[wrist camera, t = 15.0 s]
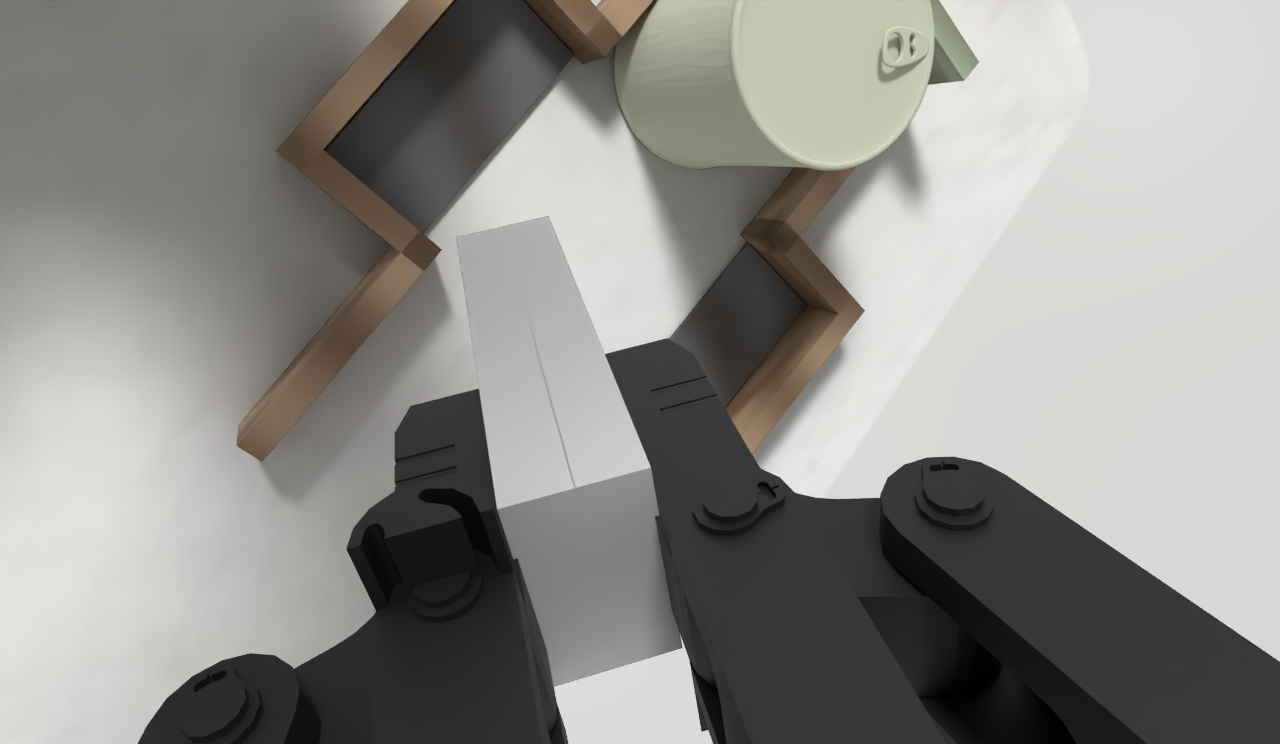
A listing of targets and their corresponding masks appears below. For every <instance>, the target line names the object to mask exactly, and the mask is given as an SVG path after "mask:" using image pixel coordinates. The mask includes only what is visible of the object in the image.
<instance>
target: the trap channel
mask: <svg viewBox="0 0 1280 744" xmlns="http://www.w3.org/2000/svg"><path fill="white" fill-rule="evenodd" d="M652 1H653V0H601V2H600V3H599V4H598V5H597V6H595V5H594V4H593V3H592V2H591V1H590V0H457V1H456V2H455V3H454V4H453V5H452V7H451V8H450V9H449V10H448V11H447V12H446V13H445V15H444V16H443V17H442V18H441V19H440V20H439V21H438V23H437V24H436V25H435V26H434V27H433V28H432V29H431V31H430V32H429V33H428V34H427V35H426V36H425V37H424V39H423V40H422V41H421V42H420V43H419V44H418V45H417V47H416V48H415V49H414V50H413V51H412V52H411V54H410V55H409V56H408V57H407V58H406V59H405V60H404V62H403V63H402V64H401V65H400V66H399V67H398V68H397V70H396V71H395V72H394V73H393V74H392V75H391V76H390V78H389V79H388V80H387V81H386V82H385V83H384V84H383V86H382V87H381V88H380V89H379V90H378V91H377V92H376V94H375V95H374V96H373V97H372V98H371V99H370V100H369V102H368V103H367V104H366V105H365V106H364V107H363V108H362V110H361V111H360V112H359V113H358V114H357V115H356V116H355V118H354V119H353V120H352V121H351V122H350V123H349V125H348V126H347V127H346V128H345V129H344V130H343V131H342V133H341V134H340V135H339V136H338V137H337V138H336V139H335V141H334V142H333V143H332V144H331V145H330V146H329V147H328V149H327V150H326V151H324V150H323V149H324V148H325V147H326V146H327V145H328V143H329V142H330V141H331V140H332V139H333V138H334V137H335V135H336V134H337V133H338V132H339V131H340V130H341V129H342V127H343V126H344V125H345V124H346V123H347V122H348V121H349V119H350V118H351V117H352V116H353V115H354V114H355V113H356V111H357V110H358V109H359V108H360V107H361V106H362V105H363V103H364V102H365V101H366V100H367V99H368V98H369V97H370V95H371V94H372V93H373V92H374V91H375V90H376V89H377V87H378V86H379V85H380V84H381V83H382V82H383V80H384V79H385V78H386V77H387V76H388V75H389V74H390V72H391V71H392V70H393V69H394V68H395V67H396V66H397V64H398V63H399V62H400V61H401V60H402V59H403V58H404V56H405V55H406V54H407V53H408V52H409V51H410V50H411V48H412V47H413V46H414V45H415V44H416V43H417V42H418V40H419V39H420V38H421V37H422V36H423V35H424V34H425V32H426V31H427V30H428V29H429V28H430V27H431V26H432V24H433V23H434V22H435V21H436V20H437V19H438V18H439V16H440V15H441V14H442V13H443V12H444V11H445V10H446V8H447V7H448V6H449V5H450V4H451V3H452V2H453V0H409V1H408V2H407V3H406V4H405V5H404V6H403V8H402V9H401V10H400V11H399V12H398V13H397V14H396V16H395V17H394V18H393V19H392V20H391V21H390V22H389V24H388V25H387V26H386V27H385V28H384V29H383V30H382V32H381V33H380V34H379V35H378V36H377V37H376V38H375V39H374V41H373V42H372V43H371V44H370V45H369V46H368V47H367V49H366V50H365V51H364V52H363V53H362V54H361V55H360V57H359V58H358V59H357V60H356V61H355V62H354V63H353V64H352V66H351V67H350V68H349V69H348V70H347V71H346V72H345V74H344V75H343V76H342V77H341V78H340V79H339V80H338V82H337V83H336V84H335V85H334V86H333V87H332V88H331V89H330V91H329V92H328V93H327V94H326V95H325V96H324V97H323V99H322V100H321V101H320V102H319V103H318V104H317V105H316V107H315V108H314V109H313V110H312V111H311V112H310V113H309V115H308V116H307V117H306V118H305V119H304V120H303V121H302V122H301V124H300V125H299V126H298V127H297V128H296V129H295V130H294V132H293V133H292V134H291V135H290V136H289V137H288V138H287V140H286V141H285V142H284V143H283V144H282V145H281V146H280V147H279V149H278V150H277V151H276V152H277V153H278V154H280V155H281V156H282V157H283V158H284V159H286V160H287V161H288V162H289V163H291V164H292V165H293V166H294V167H295V168H297V169H298V170H299V171H300V172H302V173H303V174H304V175H305V176H306V177H308V178H309V179H310V180H311V181H313V182H314V183H315V184H316V185H317V186H319V187H320V188H321V189H322V190H324V191H325V192H326V193H327V194H328V195H330V196H331V197H332V198H333V199H335V200H336V201H337V202H338V203H339V204H341V205H342V206H343V207H344V208H346V209H347V210H348V211H349V212H350V213H352V214H353V215H354V216H355V217H357V218H358V219H359V220H360V221H361V222H363V223H364V224H365V225H366V226H368V227H369V228H370V229H371V230H372V231H374V232H375V233H376V234H377V235H379V236H380V237H381V238H382V239H383V240H385V241H386V242H387V243H388V244H390V245H391V247H390V249H389V250H388V251H387V252H386V253H385V254H384V256H383V257H382V258H381V259H380V260H379V262H378V263H377V264H376V265H375V266H374V267H373V269H372V270H371V271H370V272H369V273H368V274H367V276H366V277H365V278H364V279H363V280H362V281H361V283H360V284H359V285H358V286H357V287H356V288H355V290H354V291H353V292H352V293H351V294H350V295H349V297H348V298H347V299H346V300H345V301H344V302H343V304H342V305H341V306H340V307H339V308H338V309H337V311H336V312H335V313H334V314H333V315H332V317H331V318H330V319H329V320H328V321H327V322H326V324H325V325H324V326H323V327H322V328H321V329H320V331H319V332H318V333H317V334H316V335H315V336H314V338H313V339H312V340H311V341H310V342H309V343H308V345H307V346H306V347H305V348H304V349H303V350H302V352H301V353H300V354H299V355H298V356H297V357H296V359H295V360H294V361H293V362H292V363H291V365H290V366H289V367H288V368H287V369H286V370H285V372H284V373H283V374H282V375H281V376H280V377H279V379H278V380H277V381H276V382H275V383H274V384H273V386H272V387H271V388H270V389H269V390H268V391H267V393H266V394H265V395H264V396H263V397H262V398H261V400H260V401H259V402H258V403H257V404H256V405H255V407H254V408H253V409H252V410H251V411H250V413H249V414H248V415H247V416H246V417H245V418H244V420H243V421H242V422H241V423H240V424H239V429H238V437H237V446H238V447H239V448H241V449H243V450H244V451H246V452H248V453H249V454H251V455H252V456H254V457H256V458H257V459H259V460H260V461H263V460H264V459H265V458H266V457H267V456H268V454H269V453H270V452H271V451H272V450H273V448H274V447H275V446H276V445H277V444H278V443H279V441H280V440H281V439H282V438H283V437H284V435H285V434H286V433H287V432H288V431H289V430H290V428H291V427H292V426H293V425H294V424H295V422H296V421H297V420H298V419H299V418H300V417H301V415H302V414H303V413H304V412H305V411H306V409H307V408H308V407H309V406H310V405H311V404H312V402H313V401H314V400H315V399H316V398H317V397H318V395H319V394H320V393H321V392H322V391H323V389H324V388H325V387H326V386H327V385H328V384H329V382H330V381H331V380H332V379H333V378H334V376H335V375H336V374H337V373H338V372H339V371H340V369H341V368H342V367H343V366H344V365H345V363H346V362H347V361H348V360H349V359H350V358H351V356H352V355H353V354H354V353H355V352H356V350H357V349H358V348H359V347H360V346H361V345H362V343H363V342H364V341H365V340H366V339H367V338H368V336H369V335H370V334H371V333H372V332H373V330H374V329H375V328H376V327H377V326H378V325H379V323H380V322H381V321H382V320H383V319H384V317H385V316H386V315H387V314H388V313H389V312H390V310H391V309H392V308H393V307H394V306H395V304H396V303H397V302H398V301H399V300H400V299H401V297H402V296H403V295H404V294H405V293H406V291H407V290H408V289H409V288H410V287H411V286H412V284H413V283H414V282H415V281H416V280H417V279H418V277H419V276H420V275H421V274H422V273H423V271H424V270H425V269H426V268H427V267H428V266H429V264H430V263H431V262H432V261H433V260H434V258H435V257H436V256H437V255H438V254H439V253H440V251H441V250H442V249H440V248H439V247H438V246H437V245H436V244H434V243H433V242H432V241H431V240H430V239H429V238H427V237H426V236H425V235H424V234H423V232H424V231H425V229H426V228H427V227H428V226H429V225H430V224H431V222H432V221H433V220H434V219H435V218H436V216H437V215H438V214H439V213H440V212H441V211H442V209H443V208H444V207H445V206H446V205H447V204H448V202H449V201H450V200H451V199H452V198H453V197H454V195H455V194H456V193H457V192H458V191H459V189H460V188H461V187H462V186H463V185H464V184H465V182H466V181H467V180H468V179H469V178H470V177H471V175H472V174H473V173H474V172H475V171H476V170H477V168H478V167H479V166H480V165H481V164H482V162H483V161H484V160H485V159H486V158H487V157H488V155H489V154H490V153H491V152H492V151H493V150H494V148H495V147H496V146H497V145H498V144H499V143H500V141H501V140H502V139H503V138H504V137H505V135H506V134H507V133H508V132H509V131H510V130H511V128H512V127H513V126H514V125H515V124H516V123H517V121H518V120H519V119H520V118H521V117H522V116H523V114H524V113H525V112H526V111H527V110H528V108H529V107H530V106H531V105H532V104H533V103H534V101H535V100H536V99H537V98H538V97H539V96H540V94H541V93H542V92H543V91H544V90H545V89H546V87H547V86H548V85H549V84H550V83H551V81H552V80H553V79H554V78H555V77H556V76H557V74H558V73H559V72H560V71H561V70H562V69H563V67H564V66H565V65H566V64H567V63H568V62H569V60H570V59H571V58H572V57H573V56H575V57H576V58H577V59H578V60H579V61H580V62H581V63H582V64H584V63H588V62H591V61H594V60H597V59H601V58H604V57H606V56H607V54H608V53H609V52H610V51H611V50H612V48H613V47H614V46H615V45H616V44H617V43H618V41H619V40H620V39H621V38H622V37H623V35H624V34H625V33H626V32H627V31H628V30H629V28H630V27H631V26H632V25H633V24H634V22H635V21H636V20H637V19H638V18H639V17H640V15H641V14H642V13H643V12H644V11H645V9H646V8H647V7H648V6H649V5H650V4H651V2H652ZM930 3H931V7H932V14H933V21H934V56H933V63H932V68H931V73H930V78H929V82H928V85H929V84H938V83H947V82H956V81H964V80H965V79H966V78H967V76H968V75H969V74H970V73H971V71H972V70H973V69H974V68H975V66H976V65H977V64H978V63H979V61H978V60H977V58H976V57H975V55H974V54H973V52H972V51H971V49H970V48H969V46H968V45H967V43H966V41H965V40H964V38H963V37H962V35H961V34H960V32H959V31H958V29H957V28H956V26H955V24H954V23H953V21H952V20H951V18H950V17H949V15H948V14H947V12H946V11H945V9H944V7H943V6H942V4H941V3H940V1H939V0H930ZM528 6H529V7H530V8H529V7H528ZM542 21H543V22H542ZM555 35H556V36H555ZM568 49H569V50H570V51H569V50H568ZM855 167H856V166H855ZM855 167H852V168H848V169H843V170H832V171H825V170H817V169H811V168H806V167H795V168H794V169H793V171H792V172H791V173H790V174H789V176H788V177H787V178H786V179H785V181H784V182H783V183H782V184H781V185H780V187H779V188H778V189H777V190H776V192H775V193H774V194H773V195H772V197H771V198H770V199H769V200H768V201H767V203H766V204H765V205H764V206H763V208H762V209H761V210H760V211H759V213H758V214H757V215H756V216H755V217H754V219H753V220H752V221H751V222H750V224H749V225H748V226H747V227H746V229H745V230H744V231H743V232H742V234H741V235H742V237H743V238H744V239H745V240H746V241H747V242H748V243H749V244H747V243H746V245H745V246H744V247H743V248H742V250H741V251H740V252H739V253H738V254H737V256H736V257H735V258H734V259H733V261H732V262H731V263H730V264H729V266H728V267H727V268H726V269H725V271H724V272H723V273H722V274H721V275H720V277H719V278H718V279H717V280H716V282H715V283H714V284H713V285H712V287H711V288H710V289H709V290H708V292H707V293H706V294H705V295H704V296H703V298H702V299H701V300H700V301H699V303H698V304H697V305H696V306H695V308H694V309H693V310H692V311H691V313H690V314H689V315H688V316H687V317H686V319H685V320H684V321H683V322H682V324H681V325H680V326H679V327H678V329H677V330H676V331H675V332H674V334H673V335H672V336H671V337H670V338H669V339H670V340H671V341H673V342H675V343H676V344H678V345H680V346H681V347H683V348H685V349H686V350H688V351H690V352H691V353H693V354H694V356H695V357H696V359H697V361H698V362H699V364H700V366H701V368H702V369H703V371H704V373H705V375H706V377H707V380H709V381H710V383H711V385H712V387H713V388H714V390H715V392H716V394H717V397H718V399H720V400H721V402H722V404H723V406H724V407H725V409H726V411H727V412H728V414H729V416H730V418H731V419H732V421H733V423H734V425H735V426H736V428H737V430H738V431H739V433H740V435H741V437H742V438H743V440H744V442H745V443H746V445H747V447H748V449H749V450H750V452H751V454H752V453H753V452H754V451H755V449H756V448H757V447H758V445H759V444H760V443H761V442H762V440H763V439H764V438H765V437H766V435H767V434H768V433H769V432H770V430H771V429H772V428H773V426H774V425H775V424H776V423H777V421H778V420H779V419H780V418H781V416H782V415H783V414H784V412H785V411H786V410H787V409H788V407H789V406H790V405H791V404H792V402H793V401H794V400H795V399H796V397H797V396H798V395H799V393H800V392H801V391H802V390H803V388H804V387H805V386H806V385H807V383H808V382H809V381H810V379H811V378H812V377H813V376H814V374H815V373H816V372H817V371H818V369H819V368H820V367H821V366H822V364H823V363H824V362H825V360H826V359H827V358H828V357H829V355H830V354H831V353H832V352H833V350H834V349H835V348H836V346H837V345H838V344H839V343H840V341H841V340H842V339H843V338H844V336H845V335H846V334H847V333H848V331H849V330H850V329H851V327H852V326H853V325H854V324H855V322H856V321H857V320H858V319H859V317H860V316H861V315H862V313H863V312H864V311H865V310H864V309H863V308H862V307H861V306H860V305H859V304H858V303H857V301H856V300H855V299H854V298H853V297H852V296H851V295H850V293H849V292H848V291H847V290H846V289H845V288H844V287H843V286H842V284H841V283H840V282H839V281H838V280H837V279H836V278H835V277H834V275H833V274H832V273H831V272H830V271H829V270H828V269H827V267H826V266H825V265H824V264H823V263H822V262H821V261H820V260H819V258H818V257H817V256H816V255H815V254H814V253H813V252H812V251H811V249H810V248H809V247H808V246H807V245H806V244H805V243H804V241H803V240H802V239H801V238H800V236H801V235H802V233H803V232H804V231H805V230H806V228H807V227H808V226H809V225H810V223H811V222H812V221H813V220H814V218H815V217H816V216H817V215H818V213H819V212H820V211H821V210H822V208H823V207H824V206H825V205H826V203H827V202H828V201H829V200H830V198H831V197H832V196H833V195H834V193H835V192H836V191H837V190H838V188H839V187H840V186H841V185H842V184H843V182H844V181H845V180H846V179H847V177H848V176H849V175H850V174H851V172H852V171H853V170H854V169H855ZM754 249H755V250H756V251H755V250H754ZM768 264H769V265H768ZM781 278H782V279H781ZM794 292H795V293H794ZM804 307H805V308H804ZM800 312H801V313H800ZM796 317H797V318H796ZM792 322H793V323H792ZM788 327H789V328H788ZM773 346H774V347H773ZM769 351H770V352H769ZM765 356H766V357H765ZM761 361H762V362H761ZM757 366H758V367H757ZM753 371H754V372H753ZM749 376H750V377H749ZM734 395H735V396H734ZM730 400H731V401H730ZM726 405H727V406H726Z"/></svg>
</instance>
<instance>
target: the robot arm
mask: <svg viewBox="0 0 1280 744" xmlns="http://www.w3.org/2000/svg"><path fill="white" fill-rule="evenodd" d="M456 240H457V246H458V253H459V260H460V266H461V273H462V280H463V286H464V293H465V299H466V306H467V313H468V319H469V326H470V333H471V339H472V346H473V352H474V359H475V366H476V372H477V379H478V386H479V389H476V390H472V391H468V392H464V393H460V394H456V395H453V396H449V397H445V398H441V399H437V400H433V401H429V402H425V403H421V404H417V405H413V406H410V408H409V410H408V412H407V413H406V415H405V417H404V418H403V420H402V422H401V424H400V425H399V427H398V429H397V430H396V432H395V462H396V465H395V484H396V487H395V492H393V493H392V494H390V495H389V496H387V497H386V498H384V499H383V500H381V501H380V502H379V503H377V504H376V505H374V506H373V507H371V508H370V509H369V510H368V511H367V513H366V514H365V515H364V516H363V517H362V519H361V520H360V521H359V522H358V523H357V525H356V526H355V527H354V528H353V531H352V534H351V537H350V540H349V543H348V546H347V551H348V553H349V555H350V557H351V559H352V562H353V564H354V566H355V568H356V570H357V572H358V574H359V576H360V578H361V580H362V582H363V585H364V587H365V589H366V591H367V593H368V595H369V597H370V599H371V601H372V603H373V605H374V607H375V610H376V613H375V614H374V616H373V617H372V618H371V619H370V620H369V621H368V622H366V623H365V624H364V625H363V626H362V627H361V628H360V629H359V630H358V631H357V632H356V633H354V634H353V635H351V636H350V637H348V638H347V639H345V640H344V641H342V642H341V643H339V644H338V645H336V646H334V647H332V648H331V649H329V650H327V651H325V652H323V653H322V654H320V655H318V656H316V657H315V658H313V659H311V660H309V661H307V662H306V663H304V664H302V665H300V666H298V667H297V668H295V669H293V667H292V666H290V665H289V664H287V663H286V662H284V661H282V660H281V659H279V658H278V657H276V656H275V655H263V654H251V653H250V654H246V655H242V656H238V657H234V658H230V659H226V660H222V661H220V662H218V663H216V664H215V665H213V666H211V667H209V668H207V669H205V670H203V671H202V672H200V673H198V674H196V675H194V676H192V677H191V678H190V679H189V680H188V681H187V682H185V683H184V684H183V685H182V686H181V687H180V688H178V689H177V690H176V691H175V692H174V693H173V694H172V695H170V696H169V697H168V698H167V699H166V700H165V702H164V703H163V704H162V706H161V707H160V709H159V710H158V711H157V713H156V714H155V716H154V717H153V718H152V720H151V721H150V722H149V724H148V725H147V727H146V729H145V731H144V733H143V735H142V737H141V738H140V740H139V742H138V744H568V740H567V735H566V730H565V727H564V724H563V721H562V718H561V715H560V712H559V709H558V706H557V702H556V697H555V692H554V686H558V685H561V684H564V683H568V682H571V681H574V680H578V679H581V678H584V677H587V676H591V675H594V674H597V673H601V672H604V671H607V670H611V669H614V668H617V667H621V666H624V665H627V664H631V663H634V662H637V661H640V660H644V659H647V658H651V657H654V656H657V655H661V654H664V653H667V652H671V651H674V650H677V649H680V648H682V643H681V638H680V634H681V637H682V640H683V643H684V645H685V648H686V651H687V654H688V657H689V659H690V665H691V671H692V677H693V682H694V689H695V694H696V701H697V707H698V713H699V719H700V725H701V730H702V731H705V730H709V733H710V736H711V739H712V741H713V744H1280V662H1279V661H1278V660H1276V659H1275V658H1273V657H1272V656H1270V655H1269V654H1268V653H1266V652H1265V651H1263V650H1262V649H1260V648H1259V647H1257V646H1256V645H1254V644H1253V643H1251V642H1250V641H1248V640H1247V639H1246V638H1244V637H1242V636H1241V635H1240V634H1238V633H1236V632H1235V631H1234V630H1232V629H1231V628H1229V627H1228V626H1226V625H1225V624H1224V623H1222V622H1221V621H1219V620H1218V619H1216V618H1215V617H1213V616H1212V615H1210V614H1209V613H1207V612H1206V611H1204V610H1203V609H1202V608H1200V607H1199V606H1197V605H1196V604H1194V603H1193V602H1191V601H1190V600H1188V599H1187V598H1185V597H1184V596H1182V595H1181V594H1180V593H1178V592H1177V591H1175V590H1174V589H1172V588H1171V587H1169V586H1168V585H1166V584H1165V583H1163V582H1162V581H1161V580H1159V579H1157V578H1156V577H1155V576H1153V575H1152V574H1150V573H1149V572H1147V571H1146V570H1144V569H1143V568H1141V567H1140V566H1138V565H1137V564H1135V563H1134V562H1133V561H1131V560H1130V559H1128V558H1127V557H1125V556H1124V555H1122V554H1121V553H1119V552H1118V551H1116V550H1115V549H1114V548H1112V547H1111V546H1109V545H1108V544H1106V543H1105V542H1103V541H1102V540H1100V539H1099V538H1097V537H1096V536H1095V535H1093V534H1092V533H1090V532H1089V531H1087V530H1085V529H1084V528H1083V527H1081V526H1080V525H1078V524H1077V523H1076V522H1074V521H1073V520H1071V519H1069V518H1068V517H1067V516H1065V515H1064V514H1062V513H1061V512H1059V511H1058V510H1056V509H1055V508H1054V507H1052V506H1051V505H1049V504H1047V503H1046V502H1044V501H1043V500H1042V499H1040V498H1039V497H1037V496H1036V495H1034V494H1033V493H1032V492H1030V491H1029V490H1027V489H1026V488H1024V487H1023V486H1021V485H1020V484H1018V483H1017V482H1015V481H1014V480H1012V479H1011V478H1009V477H1008V476H1007V475H1005V474H1003V473H1001V472H999V471H997V470H995V469H993V468H991V467H989V466H987V465H985V464H983V463H981V462H976V461H972V460H967V459H962V458H957V457H931V458H924V459H921V460H918V461H915V462H912V463H909V464H905V465H903V466H902V467H901V468H899V469H898V470H897V471H896V472H894V473H893V474H892V475H891V476H889V477H888V478H887V481H886V483H885V485H884V488H883V490H882V492H881V496H880V498H866V499H865V498H862V499H824V498H814V497H810V496H805V495H801V494H797V493H795V492H793V491H792V490H791V488H790V487H789V486H788V485H787V484H786V483H785V482H784V481H783V480H782V479H781V478H780V477H778V476H775V475H773V474H771V473H769V472H767V471H764V470H762V469H761V468H760V467H759V466H758V464H757V462H756V461H755V459H754V457H753V456H752V454H751V452H750V450H749V449H748V447H747V445H746V443H745V442H744V440H743V438H742V437H741V435H740V433H739V431H738V430H737V428H736V426H735V425H734V423H733V421H732V419H731V418H730V416H729V414H728V412H727V411H726V409H725V407H724V406H723V404H722V402H721V400H720V399H718V397H717V394H716V392H715V390H714V388H713V387H712V385H711V383H710V381H709V380H707V377H706V375H705V373H704V371H703V369H702V368H701V366H700V364H699V362H698V361H697V359H696V357H695V356H694V354H693V353H691V352H690V351H688V350H686V349H685V348H683V347H681V346H680V345H678V344H676V343H675V342H673V341H671V340H670V339H668V338H667V339H663V340H659V341H655V342H651V343H647V344H643V345H639V346H635V347H631V348H627V349H623V350H619V351H616V352H612V353H608V354H605V353H604V351H603V349H602V346H601V344H600V341H599V339H598V336H597V334H596V331H595V329H594V326H593V324H592V321H591V319H590V317H589V314H588V312H587V309H586V307H585V304H584V302H583V299H582V297H581V294H580V292H579V290H578V287H577V285H576V282H575V280H574V277H573V275H572V272H571V270H570V267H569V265H568V262H567V260H566V258H565V255H564V253H563V250H562V248H561V245H560V243H559V240H558V238H557V235H556V233H555V231H554V228H553V226H552V223H551V221H550V218H549V216H546V217H542V218H537V219H533V220H529V221H524V222H520V223H516V224H511V225H507V226H503V227H498V228H494V229H490V230H485V231H481V232H476V233H472V234H468V235H463V236H459V237H456ZM553 684H554V686H553Z"/></svg>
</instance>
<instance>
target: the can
mask: <svg viewBox="0 0 1280 744" xmlns="http://www.w3.org/2000/svg"><path fill="white" fill-rule="evenodd" d="M933 56H934V21H933V14H932V7H931V3H930V0H653V1H652V2H651V4H650V5H649V6H648V7H647V8H646V9H645V11H644V12H643V13H642V14H641V15H640V17H639V18H638V19H637V20H636V21H635V22H634V24H633V25H632V26H631V27H630V28H629V30H628V31H627V32H626V33H625V34H624V35H623V37H622V38H621V39H620V40H619V41H618V43H617V45H616V50H615V57H614V80H615V87H616V92H617V97H618V101H619V104H620V107H621V110H622V112H623V114H624V117H625V119H626V121H627V122H628V124H629V126H630V128H631V129H632V131H633V132H634V134H635V135H636V136H637V138H638V139H639V140H640V141H641V142H642V143H643V144H644V145H645V146H646V147H647V148H648V149H649V150H650V151H651V152H653V153H654V154H656V155H657V156H658V157H660V158H662V159H664V160H665V161H667V162H670V163H672V164H675V165H678V166H681V167H686V168H693V169H706V168H713V167H717V166H780V167H806V168H811V169H817V170H825V171H832V170H843V169H848V168H852V167H855V166H858V165H861V164H863V163H865V162H868V161H870V160H872V159H873V158H875V157H876V156H878V155H880V154H881V153H883V152H884V151H885V150H886V149H888V148H889V147H890V146H891V145H892V144H893V143H894V142H895V141H896V140H897V139H898V138H899V137H900V136H901V134H902V133H903V132H904V131H905V129H906V128H907V127H908V125H909V124H910V122H911V121H912V119H913V117H914V116H915V114H916V112H917V110H918V108H919V106H920V104H921V102H922V99H923V97H924V94H925V91H926V88H927V85H928V82H929V78H930V73H931V68H932V63H933Z"/></svg>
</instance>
